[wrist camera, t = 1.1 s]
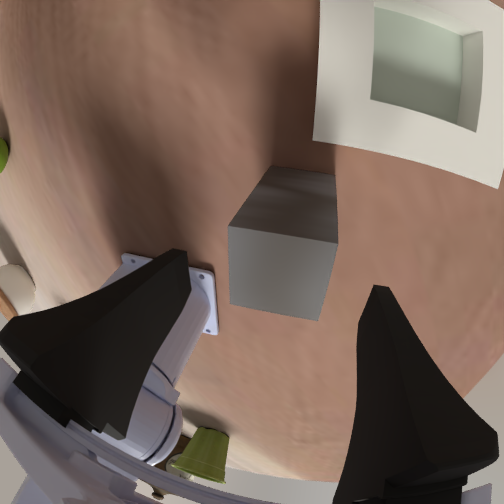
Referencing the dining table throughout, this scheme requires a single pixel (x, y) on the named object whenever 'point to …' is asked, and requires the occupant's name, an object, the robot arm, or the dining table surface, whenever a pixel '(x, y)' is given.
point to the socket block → (415, 82)
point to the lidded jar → (15, 291)
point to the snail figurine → (3, 154)
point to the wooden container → (167, 467)
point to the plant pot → (205, 455)
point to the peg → (284, 243)
